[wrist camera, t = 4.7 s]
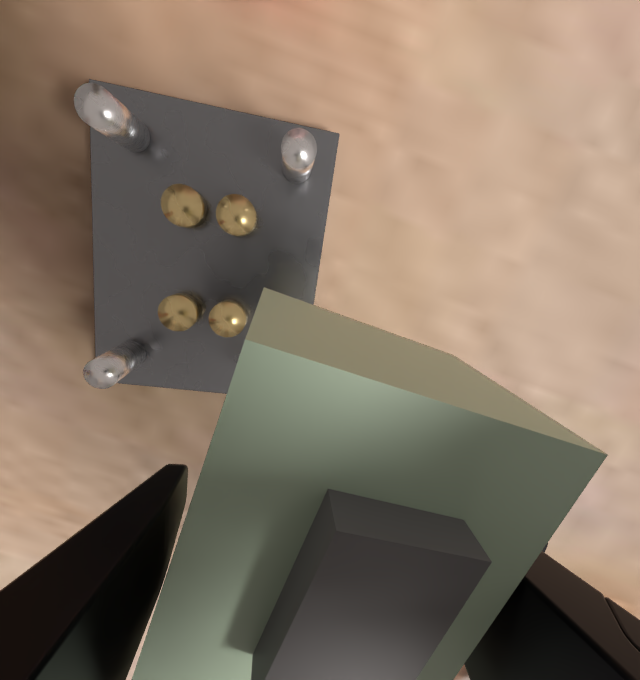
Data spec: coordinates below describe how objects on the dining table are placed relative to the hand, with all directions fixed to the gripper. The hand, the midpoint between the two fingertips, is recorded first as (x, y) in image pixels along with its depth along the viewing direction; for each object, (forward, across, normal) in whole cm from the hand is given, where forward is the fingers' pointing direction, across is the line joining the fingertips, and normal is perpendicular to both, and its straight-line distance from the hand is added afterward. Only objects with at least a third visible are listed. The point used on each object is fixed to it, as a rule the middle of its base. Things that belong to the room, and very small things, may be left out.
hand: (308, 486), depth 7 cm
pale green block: (+1, 0, 0) cm, 1 cm away
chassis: (+12, +5, -4) cm, 13 cm away
